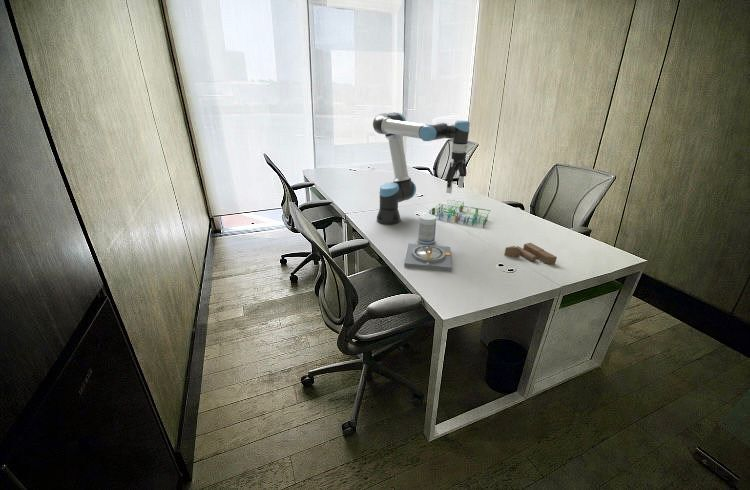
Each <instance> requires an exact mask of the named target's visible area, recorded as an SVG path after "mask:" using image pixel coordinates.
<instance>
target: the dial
mask: <svg viewBox="0 0 750 490" xmlns="http://www.w3.org/2000/svg"><path fill="white" fill-rule="evenodd" d="M427 245H428V246H427V247H422V248H419V249H418V250H417V253H416V254H417V256H419V257H422V258H426V259H427V260H429V259H435V258H439V257H440V256H441V252H440V251H439V250H438V249H436V248H433V247H431V246H430V245H431V244H427Z"/></svg>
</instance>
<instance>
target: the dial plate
mask: <svg viewBox="0 0 750 490" xmlns="http://www.w3.org/2000/svg"><path fill="white" fill-rule="evenodd" d="M428 245H430V246H431V247H433V248H436V249H438V250H439V251H440V252H441V256H440V257H439V258H435V259H429V260H427V259H426V258H422V257H419V256H417V254H416V253H417V250H418V249H419V248H422V247H427V246H428ZM451 255H452V254H451V246H445V245H443V246H442V245H432V244H422V243H420V244H419V243H418V244H416V243H408V244H407V250H406V253H405V259H404V264H403V265H404V268H412V269H413V268H415V269H424V270H434V271H435V270H436V271H444V272H445V271H447V272H452V256H451Z"/></svg>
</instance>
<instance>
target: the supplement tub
mask: <svg viewBox="0 0 750 490" xmlns="http://www.w3.org/2000/svg"><path fill="white" fill-rule="evenodd" d="M435 215H436V214H433V215H432V213H430V214H429V213H422V214H420V215H419V216H418V226H417V242H419V243H420V244H421V245H432V244H434V243H435V239H436V231H437V230H436V229H437V228H436V225H437V219H436V218H437V216H435Z"/></svg>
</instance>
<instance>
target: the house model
mask: <svg viewBox="0 0 750 490" xmlns="http://www.w3.org/2000/svg"><path fill="white" fill-rule="evenodd" d="M446 202H447V204H442V203H438V205H436V206H435V207H432V208H431V209H430V210H429V213H428V214H432V215H435V216H436V220H442V221H444V220H445V221H447V222H448V221H451V222H453V221H454V223H457V224H459V222H460V221H461V224H463V225H469V222H470V224H471V226H474V225H475V224H477V222H478V225H479V227H482V228H484V227H485V225H486V223H487V221H488V218H489V214H490V212H491V210H490V209H486V208H485V209H484V208H479V207H478V208H477V207H473V206H470V207H469V209H467V211H466V212H464V210H463V209H464V208H468V206H466V205H465V202H464V201H458V200H457V201H455V200H452V199H450V201H449V199H447V200H446ZM459 203H460V204H459ZM453 204H454V205H453ZM472 209H475V212H473V213H470V211H471V210H472ZM479 210H482V211H487V212H488V213H485V212H484V213H483V212H481V215H479V214H480V212H479ZM467 213H470V214H467ZM452 217H454V219H453V218H452Z"/></svg>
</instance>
